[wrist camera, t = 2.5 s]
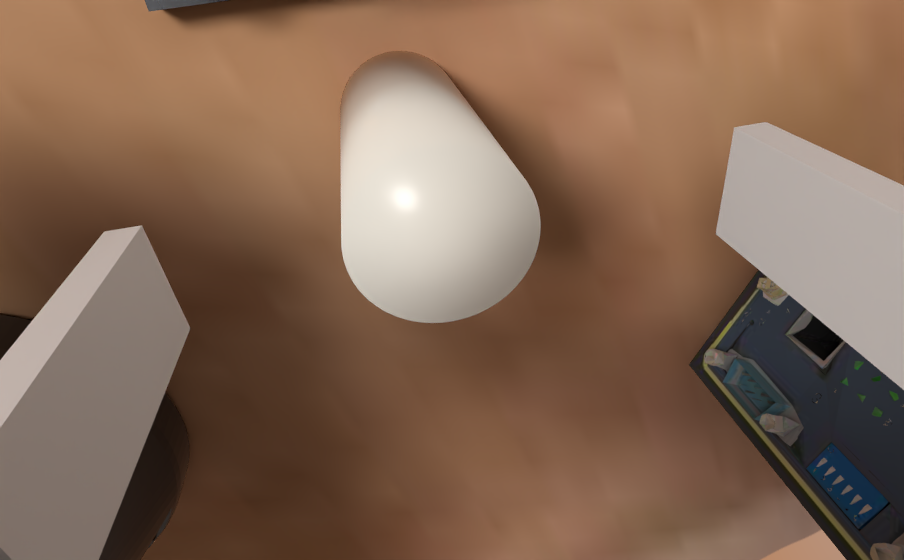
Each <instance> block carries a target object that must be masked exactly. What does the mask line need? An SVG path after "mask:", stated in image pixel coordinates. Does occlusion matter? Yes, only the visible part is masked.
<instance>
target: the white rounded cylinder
mask: <svg viewBox="0 0 904 560" xmlns="http://www.w3.org/2000/svg"><path fill="white" fill-rule="evenodd" d="M340 139H341V249H342V254H343V260H344V263H345V266H346V269H347V272H348V273H349V275H350V277H351V279H352V281H353V283H354V284H355V285H356V287H357V288H358V290H359V291H360V292H361V293H362V294H363V295H364V296H365V297H366V298H367V299H368V300H369V301H370V302H372V303H373V304H374V305H375V306H377V307H379V308H380V309H382V310H383V311H385V312H387V313H389V314H392V315H394V316H396V317H399V318H402V319H406V320H410V321H415V322H423V323H444V322H451V321H456V320H460V319H464V318H468V317H470V316H473V315H476V314H478V313H480V312H482V311H484V310H487V309H488V308H490V307H492V306H493V305H495V304H496V303H498V302H499V301H501V300H502V299H503V298H504V297H506V296H507V295H508V294H509V293H510V292H511V291H512V290H513V289H514V288H515V287H516V286H517V285H518V284H519V282H520V281H521V280H522V279H523V277H524V276H525V274H526V273H527V271H528V270H529V268H530V266H531V264H532V262H533V260H534V258H535V255H536V251H537V248H538V244H539V239H540V229H541V222H540V212H539V208H538V204H537V201H536V198H535V196H534V193H533V191H532V189H531V188H530V186H529V184H528V183H527V181H526V180H525V178H524V177H523V176H522V174H521V173H520V172H519V170H518V169H517V168H516V166H515V165H514V164H513V162H512V161H511V160H510V158H509V157H508V155H507V154H506V153H505V151H504V150H503V149H502V147H501V146H500V145H499V143H498V142H497V141H496V139H495V138H494V137H493V135H492V134H491V133H490V131H489V130H488V129H487V127H486V126H485V125H484V123H483V122H482V121H481V119H480V118H479V117H478V115H477V114H476V113H475V111H474V110H473V109H472V107H471V106H470V105H469V103H468V102H467V101H466V99H465V98H464V97H463V95H462V94H461V93H460V91H459V90H458V89H457V87H456V86H455V84H454V83H453V82H452V80H451V79H450V78H449V76H448V75H447V74H446V73H445V72H444V70H443V69H442V68H441V67H440V66H438V65H437V64H436V63H435V62H433V61H432V60H430V59H428V58H426V57H425V56H422V55H419V54H417V53H413V52H408V51H392V52H387V53H383V54H380V55H377V56H375V57H373V58H371V59H369V60H367V61H366V62H365V63H363V64H362V65H361V66H360V67H359V68H358V69H357V70H356V71H355V72H354V73H353V75H352V76H351V77H350V79H349V81H348V82H347V84H346V86H345V89H344V91H343V95H342V99H341V106H340Z"/></svg>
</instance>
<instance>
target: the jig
mask: <svg viewBox="0 0 904 560" xmlns="http://www.w3.org/2000/svg"><path fill="white" fill-rule="evenodd" d="M220 1H227V0H145V2H146V5H147V8H148V10H149V11H156V10H163V9H170V8H177V7H184V6H191V5H199V4H206V3H213V2H220Z"/></svg>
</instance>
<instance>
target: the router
mask: <svg viewBox="0 0 904 560" xmlns="http://www.w3.org/2000/svg"><path fill="white" fill-rule="evenodd" d="M689 365H690V366H691V368H692V369H693V370H694V371H695V373H696V374H697V375H698V376H699V378H700V379H701V380H702V381H703V383H704V384H705V385H706V386H707V388H708V389H709V390H710V391H711V392H712V394H713V395H714V396H715V397H716V399H717V400H718V401H719V402H720V404H721V405H722V406H723V407H724V409H725V410H726V411H727V412H728V414H729V415H730V416H731V417H732V418H733V420H734V421H735V422H736V423H737V425H738V426H739V427H740V428H741V430H742V431H743V432H744V433H745V435H746V436H747V437H748V438H749V439H750V441H751V442H752V443H753V444H754V446H755V447H756V448H757V449H758V451H759V452H760V453H761V454H762V456H763V457H764V458H765V459H766V461H767V462H768V463H769V464H770V465H771V467H772V468H773V469H774V470H775V472H776V473H777V474H778V475H779V477H780V478H781V479H782V480H783V482H784V483H785V484H786V485H787V487H788V488H789V489H790V490H791V491H792V493H793V494H794V495H795V496H796V498H797V499H798V500H799V501H800V503H801V504H802V505H803V506H804V508H805V509H806V510H807V511H808V513H809V514H810V515H811V516H812V517H813V519H814V520H815V521H816V522H817V524H818V525H819V526H820V527H821V529H822V530H823V531H824V532H825V533H826V535H827V536H828V537H829V538H830V540H831V541H832V542H833V543H834V545H835V546H836V547H837V548H838V550H839V551H840V552H841V553H842V555H843V556H844V557H845V558H846V559H847V560H904V390H903V389H902V388H901V387H900V386H898V385H897V384H896V383H895V382H893V381H892V380H891V379H890V378H889V377H887V376H886V375H885V374H884V373H883V372H881V371H880V370H879V369H878V368H877V367H875V366H874V365H873V364H872V363H871V362H869V361H868V360H867V359H866V358H865V357H863V356H862V355H861V354H860V353H859V352H857V351H856V350H855V349H854V348H853V347H851V346H850V345H849V344H848V343H846V342H845V341H844V340H843V339H842V338H840V337H839V336H838V335H837V334H836V333H834V332H833V331H832V330H831V329H830V328H828V327H827V326H826V325H825V324H824V323H822V322H821V321H820V320H819V319H818V318H816V317H815V316H814V315H813V314H812V313H810V312H809V311H808V310H807V309H806V308H804V307H803V306H802V305H801V304H799V303H798V302H797V301H796V300H795V299H793V298H792V297H791V296H790V295H789V294H787V293H786V292H785V291H784V290H783V289H781V288H780V287H779V286H778V285H777V284H775V283H774V282H773V281H772V280H771V279H769V278H768V277H767V276H766V275H765V274H763V273H762V272H761V271H760V270H759V271H758V272H757V273H756V275H755V276H754V277H753V279H752V280H751V282H750V283H749V284H748V286H747V287H746V288H745V290H744V291H743V292H742V294H741V295H740V296H739V298H738V299H737V301H736V302H735V303H734V305H733V306H732V307H731V309H730V310H729V311H728V313H727V314H726V316H725V317H724V318H723V320H722V321H721V322H720V324H719V325H718V326H717V328H716V329H715V330H714V332H713V333H712V335H711V336H710V337H709V339H708V340H707V341H706V343H705V344H704V345H703V347H702V348H701V350H700V351H699V352H698V354H697V355H696V356H695V358H694V359H693V360H692V362H691V363H690V364H689Z"/></svg>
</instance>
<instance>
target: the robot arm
mask: <svg viewBox="0 0 904 560" xmlns="http://www.w3.org/2000/svg"><path fill="white" fill-rule="evenodd" d="M716 235H718V236H719V237H720V238H721V239H722V240H724V241H725V242H726V243H727V244H728V245H730V246H731V247H732V248H733V249H734V250H736V251H737V252H738V253H739V254H740V255H742V256H743V257H744V258H745V259H746V260H748V261H749V262H750V263H751V264H752V265H754V266H755V267H756V268H757V269H759V270H760V271H761V272H762V273H763V274H765V275H766V276H767V277H768V278H769V279H771V280H772V281H773V282H774V283H775V284H777V285H778V286H779V287H780V288H781V289H783V290H784V291H785V292H786V293H787V294H789V295H790V296H791V297H792V298H793V299H795V300H796V301H797V302H798V303H799V304H801V305H802V306H803V307H804V308H806V309H807V310H808V311H809V312H810V313H812V314H813V315H814V316H815V317H816V318H818V319H819V320H820V321H821V322H822V323H824V324H825V325H826V326H827V327H828V328H830V329H831V330H832V331H833V332H834V333H836V334H837V335H838V336H839V337H840V338H842V339H843V340H844V341H845V342H846V343H848V344H849V345H850V346H851V347H853V348H854V349H855V350H856V351H857V352H859V353H860V354H861V355H862V356H863V357H865V358H866V359H867V360H868V361H869V362H871V363H872V364H873V365H874V366H875V367H877V368H878V369H879V370H880V371H881V372H883V373H884V374H885V375H886V376H887V377H889V378H890V379H891V380H892V381H893V382H895V383H896V384H897V385H898V386H900V387H901V388H902V389H903V390H904V186H903V185H901V184H899V183H897V182H895V181H893V180H890V179H888V178H886V177H884V176H882V175H880V174H877V173H875V172H873V171H871V170H869V169H867V168H864V167H862V166H860V165H858V164H856V163H854V162H851V161H849V160H847V159H845V158H843V157H841V156H838V155H836V154H834V153H832V152H830V151H828V150H825V149H823V148H821V147H819V146H817V145H815V144H812V143H810V142H808V141H806V140H804V139H802V138H799V137H797V136H795V135H793V134H791V133H789V132H786V131H784V130H782V129H780V128H778V127H776V126H773V125H771V124H769V123H767V122H764V123H758V124H752V125H746V126H740V127H734V133H733V138H732V144H731V150H730V155H729V161H728V167H727V172H726V178H725V184H724V189H723V195H722V201H721V206H720V212H719V218H718V224H717V229H716ZM189 331H190V326H189V324H188V322H187V320H186V318H185V316H184V314H183V311H182V309H181V307H180V305H179V303H178V301H177V299H176V297H175V295H174V292H173V290H172V288H171V286H170V284H169V282H168V280H167V278H166V275H165V273H164V271H163V269H162V267H161V265H160V263H159V261H158V258H157V256H156V254H155V252H154V250H153V248H152V246H151V244H150V242H149V239H148V237H147V235H146V233H145V231H144V229H143V227H142V225H141V226H135V227H129V228H123V229H117V230H111V231H104V232H103V234H102V235H101V236H100V237H99V239H98V240H97V241H96V242H95V244H94V245H93V246H92V247H91V249H90V250H89V251H88V252H87V254H86V255H85V256H84V257H83V258H82V260H81V261H80V262H79V263H78V265H77V266H76V267H75V268H74V270H73V271H72V272H71V273H70V275H69V276H68V277H67V278H66V279H65V281H64V282H63V283H62V284H61V286H60V287H59V288H58V289H57V291H56V292H55V293H54V294H53V296H52V297H51V298H50V299H49V300H48V302H47V303H46V304H45V305H44V307H43V308H42V309H41V310H40V312H39V313H38V314H37V315H36V317H35V318H34V319H33V320H32V321H31V320H27V319H22V318H17V317H11V316H5V315H0V560H141V558H142V556H143V555H144V553H145V552H146V550H147V549H148V548H149V547H150V546H151V545H152V543H153V542H154V541H155V540H156V539H157V537H158V536H159V535H160V534H161V532H162V531H163V530H164V529H165V527H166V526H167V524H168V522H169V521H170V519H171V517H172V514H173V512H174V510H175V508H176V506H177V503H178V500H179V496H180V493H181V489H182V486H183V482H184V479H185V475H186V472H187V468H188V463H189V455H190V452H189V440H188V435H187V431H186V428H185V425H184V423H183V420H182V418H181V416H180V414H179V412H178V411H177V409H176V407H175V406H174V404H173V403H172V402H171V400H170V399H169V397H168V396H167V395H166V394H165V391H166V389H167V386H168V384H169V381H170V379H171V376H172V373H173V371H174V368H175V366H176V363H177V361H178V358H179V356H180V353H181V351H182V348H183V346H184V343H185V341H186V338H187V336H188V333H189Z"/></svg>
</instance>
